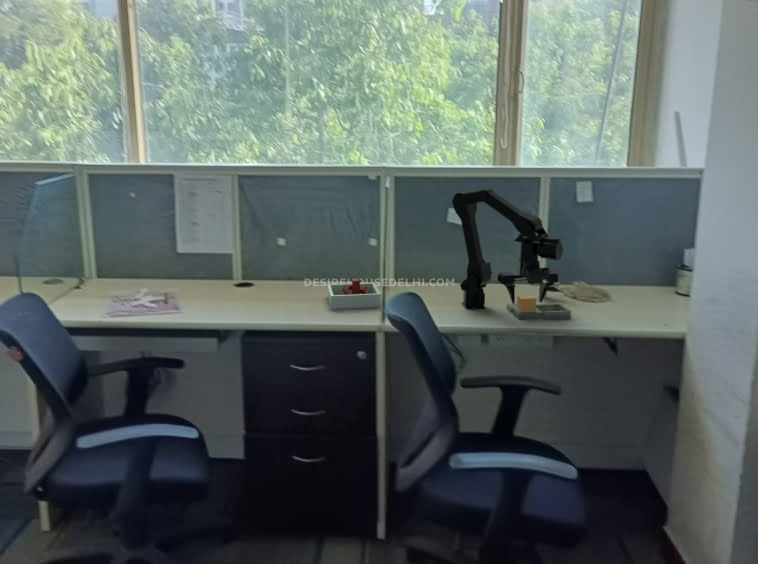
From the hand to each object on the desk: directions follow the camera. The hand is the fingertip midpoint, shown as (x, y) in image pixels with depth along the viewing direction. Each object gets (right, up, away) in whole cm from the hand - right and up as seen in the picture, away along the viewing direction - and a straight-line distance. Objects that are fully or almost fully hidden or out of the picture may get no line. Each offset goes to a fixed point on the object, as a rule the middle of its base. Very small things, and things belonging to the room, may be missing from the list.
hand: (526, 303), depth 239 cm
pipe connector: (+11, +1, +23) cm, 26 cm away
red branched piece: (-55, 0, +19) cm, 58 cm away
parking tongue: (-1, -3, +8) cm, 8 cm away
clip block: (0, -2, +1) cm, 3 cm away
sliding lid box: (+5, -4, +2) cm, 7 cm away
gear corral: (-57, 0, +19) cm, 60 cm away
